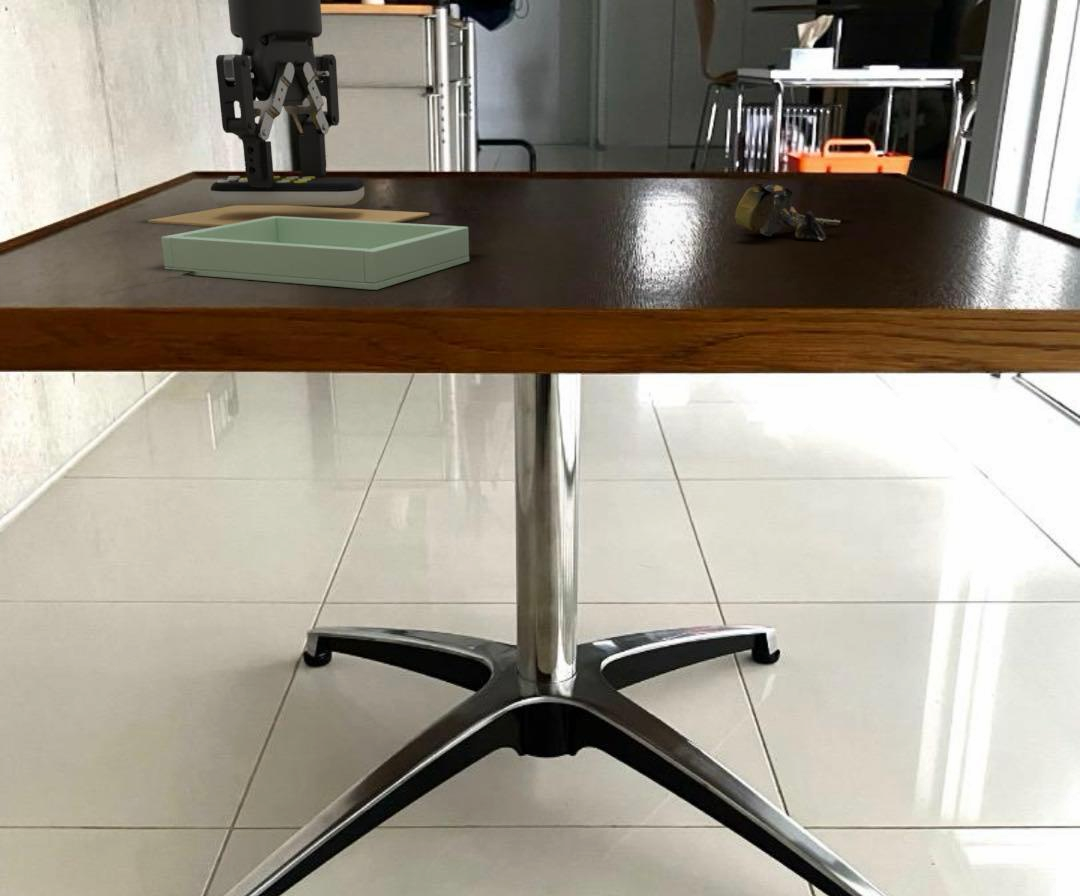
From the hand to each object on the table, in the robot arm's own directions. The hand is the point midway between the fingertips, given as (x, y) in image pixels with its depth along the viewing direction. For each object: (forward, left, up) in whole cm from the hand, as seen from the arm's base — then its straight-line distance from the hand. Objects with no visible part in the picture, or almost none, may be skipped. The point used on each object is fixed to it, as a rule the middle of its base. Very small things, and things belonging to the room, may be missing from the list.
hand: (288, 182), depth 106 cm
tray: (+16, -20, -3) cm, 26 cm away
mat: (0, 0, -3) cm, 3 cm away
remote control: (0, 0, -2) cm, 2 cm away
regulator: (+42, +9, -4) cm, 43 cm away
